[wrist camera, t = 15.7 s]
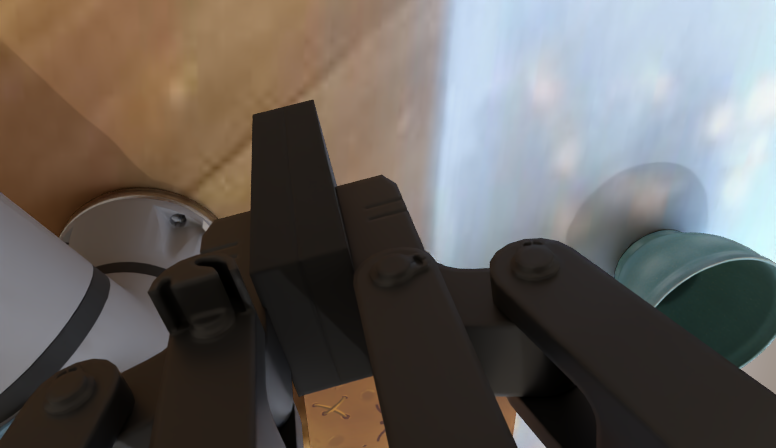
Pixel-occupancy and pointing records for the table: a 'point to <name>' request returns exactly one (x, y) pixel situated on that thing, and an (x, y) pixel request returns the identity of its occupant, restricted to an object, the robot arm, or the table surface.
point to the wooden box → (357, 416)
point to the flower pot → (706, 289)
